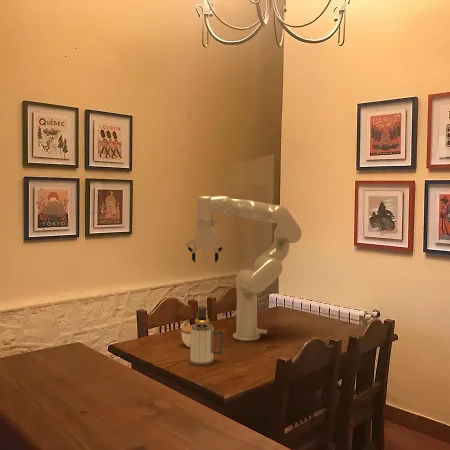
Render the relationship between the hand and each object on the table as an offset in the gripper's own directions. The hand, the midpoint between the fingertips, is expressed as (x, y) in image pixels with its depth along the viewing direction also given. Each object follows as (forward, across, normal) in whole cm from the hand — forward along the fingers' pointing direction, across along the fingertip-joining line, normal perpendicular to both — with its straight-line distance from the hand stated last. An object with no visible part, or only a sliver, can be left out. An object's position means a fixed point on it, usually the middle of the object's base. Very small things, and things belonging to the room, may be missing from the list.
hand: (205, 261), depth 224 cm
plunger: (+35, +2, +27) cm, 44 cm away
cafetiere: (+36, +1, +27) cm, 45 cm away
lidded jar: (+36, +5, +6) cm, 37 cm away
